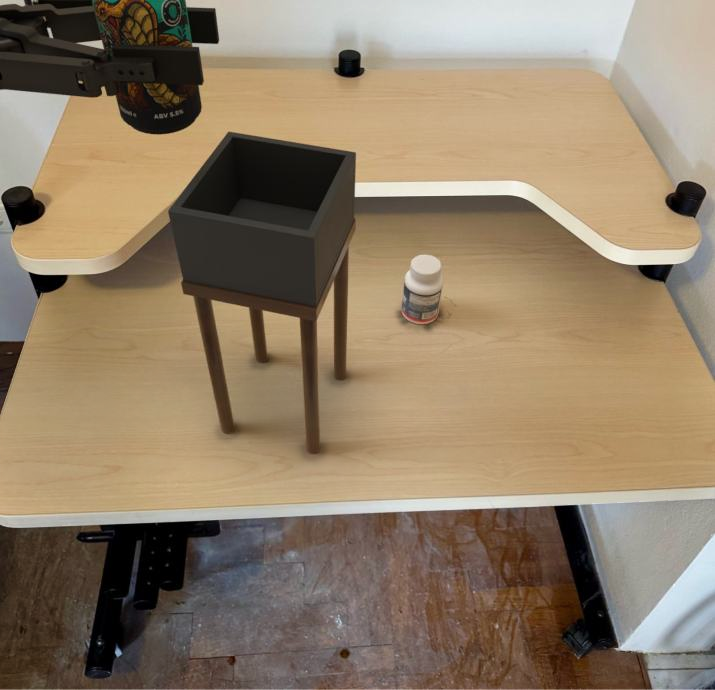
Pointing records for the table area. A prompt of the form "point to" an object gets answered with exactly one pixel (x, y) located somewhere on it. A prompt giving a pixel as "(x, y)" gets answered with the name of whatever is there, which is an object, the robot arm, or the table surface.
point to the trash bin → (266, 217)
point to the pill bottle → (422, 290)
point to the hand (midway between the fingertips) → (208, 45)
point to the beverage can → (150, 27)
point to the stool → (256, 308)
